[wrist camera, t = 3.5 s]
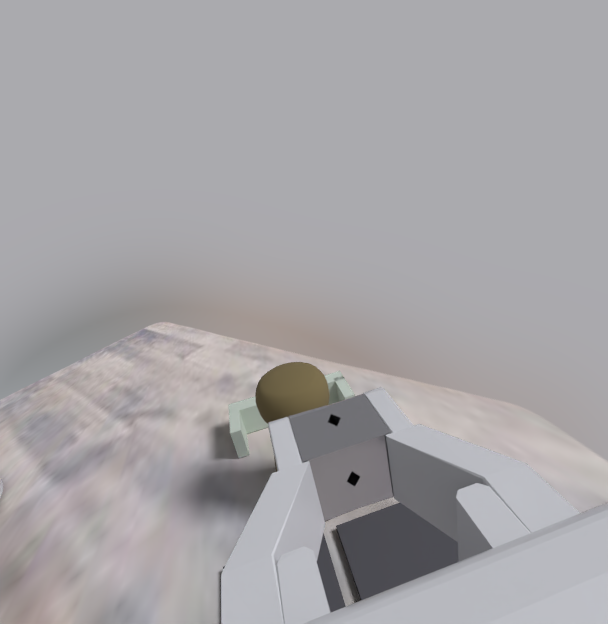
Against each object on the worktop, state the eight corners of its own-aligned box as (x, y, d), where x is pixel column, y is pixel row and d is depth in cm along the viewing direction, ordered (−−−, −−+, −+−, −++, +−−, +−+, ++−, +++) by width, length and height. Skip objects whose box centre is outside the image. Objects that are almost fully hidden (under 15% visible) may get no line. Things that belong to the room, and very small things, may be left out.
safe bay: (238, 458, 33) (230, 433, 32) (236, 427, 38) (228, 404, 36) (358, 419, 35) (354, 394, 34) (343, 394, 39) (339, 370, 38)
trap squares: (228, 713, 18) (225, 708, 18) (225, 571, 24) (223, 566, 24) (496, 601, 20) (496, 595, 20) (427, 497, 26) (427, 492, 26)
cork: (302, 540, 25) (265, 416, 21) (267, 484, 30) (232, 375, 26) (369, 492, 27) (348, 372, 23) (326, 447, 32) (303, 342, 28)
